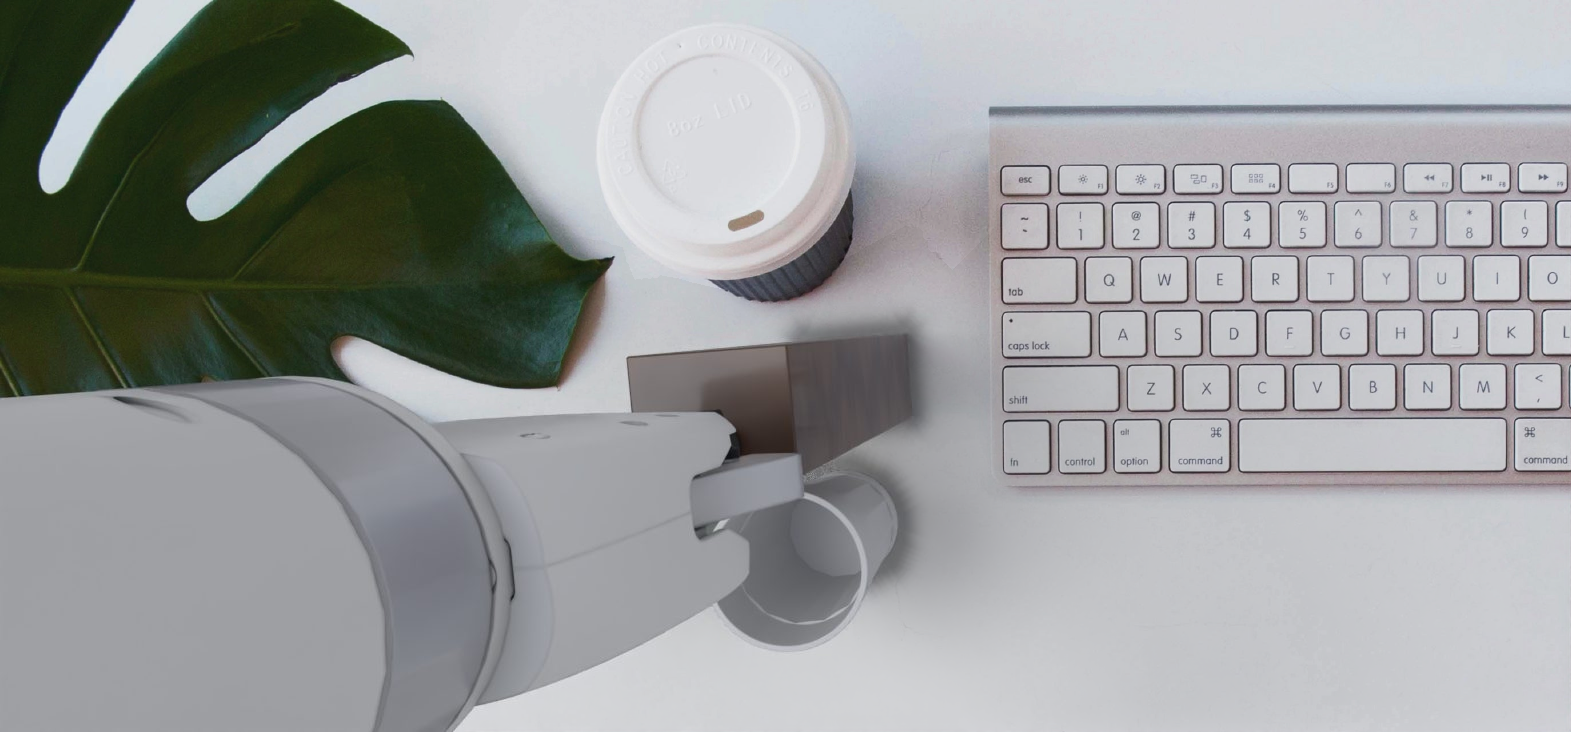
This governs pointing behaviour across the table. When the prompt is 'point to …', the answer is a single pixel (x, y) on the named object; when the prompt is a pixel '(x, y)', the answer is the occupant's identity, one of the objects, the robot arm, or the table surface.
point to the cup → (809, 562)
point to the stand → (785, 391)
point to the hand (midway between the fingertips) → (675, 459)
